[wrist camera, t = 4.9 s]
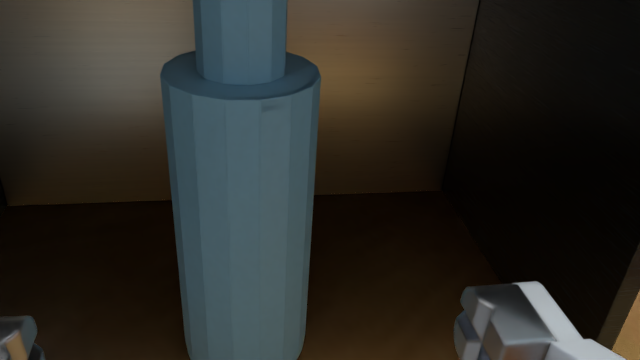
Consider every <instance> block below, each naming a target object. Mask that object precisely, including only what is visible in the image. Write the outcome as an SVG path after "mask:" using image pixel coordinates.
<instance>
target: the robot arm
mask: <svg viewBox="0 0 640 360" xmlns="http://www.w3.org/2000/svg"><path fill="white" fill-rule="evenodd" d="M460 302H461V304H462V306H463V308H464V311H463V312H462V313H461V314H460V315H458V316H457V317H456V320H455V325H454V330H453V332H454V345H455V348H456V352H457V355H458V357H459V359H460V360H626V359H625V358H623V357H621V356H619V355H618V354H616V353H614V352H612V351H611V350H609V349H607V348H606V347H604V346H602V345H600V344H599V343H597V342H595V341H593V340H592V339H583V338H582V337H581V335H580V334H579V333H578V331H577V330H576V329H575V327H574V326H573V325H572V323H571V322H570V321H569V319H568V318H567V317H566V315H565V314H564V313H563V311H562V310H561V309H560V307H559V306H558V305H557V303H556V302H555V301H554V299H553V298H552V297H551V295H550V294H549V293H548V291H547V290H546V289H545V288H544V286H543V285H542V284H540V283H539V282H537V281H532V282H520V283H513V284H497V285H483V286H470V287H466V288H465V290H464V291H463V293H462V296H461V300H460ZM37 332H38V330H37V327H36V324H35V321H34V318H33V317H30V316H10V317H0V360H46V359H45V355H44V351H43V349H42V348H41V347H39V346H38V345H37V344H35V343H34V341H35V338H36V335H37Z"/></svg>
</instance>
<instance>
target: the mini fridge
mask: <svg viewBox="0 0 640 360" xmlns="http://www.w3.org/2000/svg"><path fill="white" fill-rule="evenodd" d="M195 50H196V49H195V32H194V15H193V0H0V217H1V216H2V214H3V212H4V211H5V209H6V207H7V206H23V205H51V204H79V203H107V202H135V201H163V200H172V196H171V186H170V175H169V165H168V154H167V143H166V133H165V122H164V112H163V101H162V91H161V80H160V74H161V71H162V68H163V65H164V63H166V62H168V61H169V60H171V59H173V58H174V57H176V56H178V55H180V54H184V53H188V52H191V51H195ZM286 52H289V53H292V54H295V55H299V56H302V57H304V58H306V59H307V60H309V61H310V62H312V63H313V64H315V65H316V66H317V67H318V70H319V72H320V75H321V85H320V102H319V118H318V134H317V150H316V167H315V183H314V195H331V194H359V193H387V192H415V191H441V190H442V191H443V193H444V194H445V196H446V198H447V199H448V201H449V202H450V204H451V205H452V207H453V208H454V210H455V211H456V213H457V214H458V216H459V218H460V219H461V221H462V222H463V224H464V225H465V227H466V228H467V230H468V231H469V233H470V234H471V236H472V238H473V239H474V241H475V242H476V244H477V245H478V247H479V248H480V250H481V251H482V253H483V254H484V256H485V258H486V259H487V261H488V262H489V264H490V265H491V267H492V268H493V270H494V271H495V273H496V274H497V276H498V278H499V279H500V281H501V282H502V284H513V283H520V282H532V281H537V282H539V283H540V284H542V285H543V286H544V288H545V289H546V290H547V291H548V293H549V294H550V295H551V297H552V298H553V299H554V301H555V302H556V303H557V305H558V306H559V307H560V309H561V310H562V311H563V313H564V314H565V315H566V317H567V318H568V319H569V321H570V322H571V323H572V325H573V326H574V327H575V329H576V330H577V331H578V333H579V334H580V335H581V337H582V338H583V339H592V340H593V341H595V342H597V343H599V344H600V345H602V346H604V347H606V348H607V349H609V350H612V348H613V346H614V344H615V341H616V339H617V337H618V335H619V333H620V331H621V329H622V326H623V324H624V322H625V320H626V318H627V316H628V314H629V311H630V309H631V307H632V305H633V303H634V301H635V299H636V296H637V294H638V292H639V290H640V0H288V2H287V39H286Z"/></svg>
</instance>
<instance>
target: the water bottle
mask: <svg viewBox="0 0 640 360" xmlns="http://www.w3.org/2000/svg"><path fill="white" fill-rule="evenodd" d="M287 2H288V0H193V15H194V32H195V49H196V50H195V51H191V52H188V53H184V54H180V55H178V56H176V57H174V58H173V59H171V60H169V61H168V62H166V63H164V65H163V68H162V71H161V74H160V80H161V91H162V101H163V112H164V122H165V133H166V143H167V154H168V165H169V175H170V186H171V196H172V207H173V217H174V228H175V239H176V249H177V260H178V270H179V281H180V291H181V302H182V313H183V323H184V334H185V343H186V345H187V351H188V354H189V357H190V359H191V360H297V358H298V357H299V355H300V353H301V351H302V348H303V343H304V338H305V329H306V313H307V297H308V280H309V264H310V248H311V232H312V215H313V199H314V183H315V167H316V150H317V134H318V118H319V102H320V85H321V75H320V72H319V70H318V67H317V66H316V65H315V64H313V63H312V62H310V61H309V60H307V59H306V58H304V57H302V56H299V55H295V54H292V53H289V52H286V39H287Z"/></svg>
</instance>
